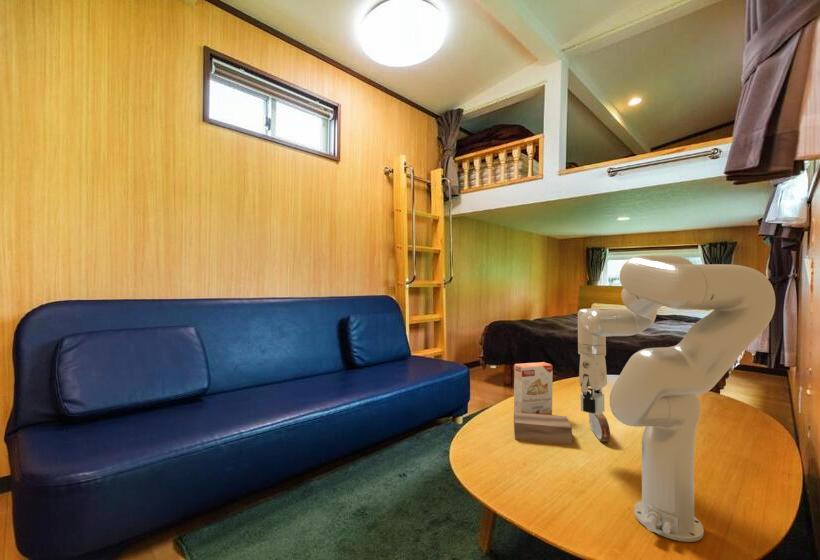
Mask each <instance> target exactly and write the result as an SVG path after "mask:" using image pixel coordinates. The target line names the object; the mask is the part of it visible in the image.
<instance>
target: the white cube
mask: <svg viewBox="0 0 820 560" xmlns="http://www.w3.org/2000/svg"><path fill="white" fill-rule="evenodd" d="M588 391H589V392H590V394H591V391H590V390H588ZM594 400H595V413H591V414H596V415H600V414H601V413H602V414H603V413H604V412H605V393H602V394H600V393H595V392H594ZM580 411H581V412H583V413H584V412H585V411H583V393H582V392H581V393H580ZM585 413H588V414H589V412H585Z"/></svg>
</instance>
